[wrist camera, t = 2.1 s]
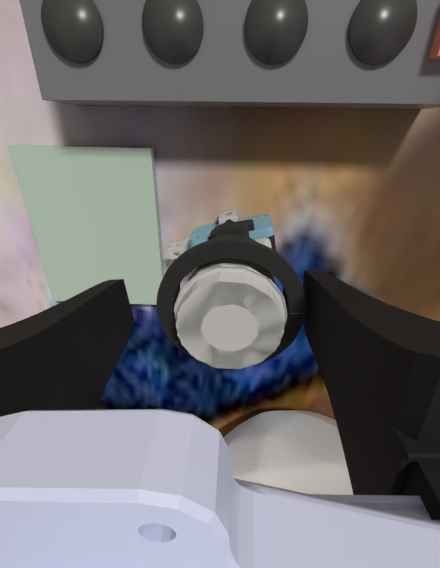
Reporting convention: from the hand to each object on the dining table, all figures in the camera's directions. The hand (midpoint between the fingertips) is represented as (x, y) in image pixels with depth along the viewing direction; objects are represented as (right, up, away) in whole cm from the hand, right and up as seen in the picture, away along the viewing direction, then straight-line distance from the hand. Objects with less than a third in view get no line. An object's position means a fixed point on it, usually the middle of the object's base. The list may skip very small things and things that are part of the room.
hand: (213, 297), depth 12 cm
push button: (0, +4, +7) cm, 8 cm away
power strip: (+2, +12, +2) cm, 12 cm away
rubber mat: (-8, +4, +7) cm, 11 cm away
